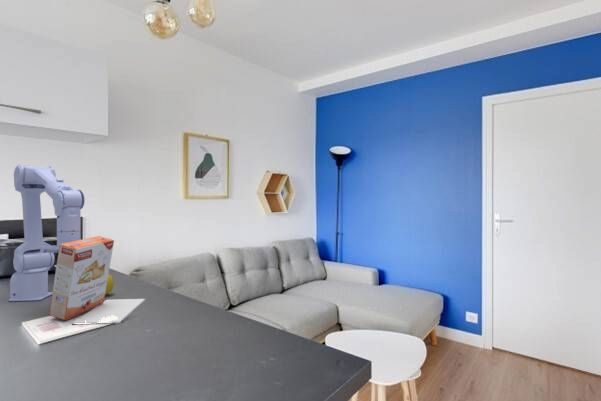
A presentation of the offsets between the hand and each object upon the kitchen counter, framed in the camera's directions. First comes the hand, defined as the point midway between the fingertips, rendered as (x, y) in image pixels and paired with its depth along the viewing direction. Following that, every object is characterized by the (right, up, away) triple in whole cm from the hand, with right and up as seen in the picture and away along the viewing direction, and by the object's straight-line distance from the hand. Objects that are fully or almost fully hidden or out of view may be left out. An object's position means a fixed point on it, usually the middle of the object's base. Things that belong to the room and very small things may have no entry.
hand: (69, 277), depth 98 cm
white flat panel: (+12, -11, +2) cm, 16 cm away
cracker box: (+3, -10, 0) cm, 10 cm away
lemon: (+1, -10, +16) cm, 19 cm away
